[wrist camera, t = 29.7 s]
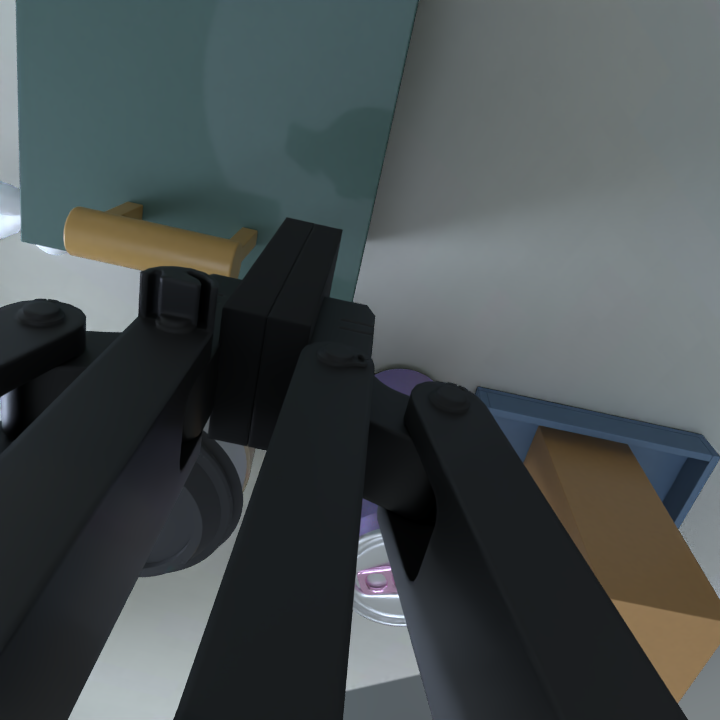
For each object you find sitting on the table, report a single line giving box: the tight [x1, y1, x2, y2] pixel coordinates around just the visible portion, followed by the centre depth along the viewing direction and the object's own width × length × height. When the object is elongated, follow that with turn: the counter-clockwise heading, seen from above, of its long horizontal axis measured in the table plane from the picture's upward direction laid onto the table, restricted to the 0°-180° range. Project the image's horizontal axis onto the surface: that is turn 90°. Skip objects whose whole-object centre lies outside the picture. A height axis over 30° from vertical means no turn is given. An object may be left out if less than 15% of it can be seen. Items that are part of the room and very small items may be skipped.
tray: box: [475, 387, 720, 529], centre depth 41 cm, size 15×13×2 cm
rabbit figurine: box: [0, 181, 67, 255], centre depth 33 cm, size 6×4×8 cm
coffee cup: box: [139, 417, 255, 577], centre depth 32 cm, size 9×9×15 cm
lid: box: [16, 0, 419, 302], centre depth 21 cm, size 21×15×6 cm
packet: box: [523, 425, 720, 703], centre depth 35 cm, size 6×10×14 cm, turn 168°
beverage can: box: [353, 369, 433, 626], centre depth 33 cm, size 6×6×15 cm
